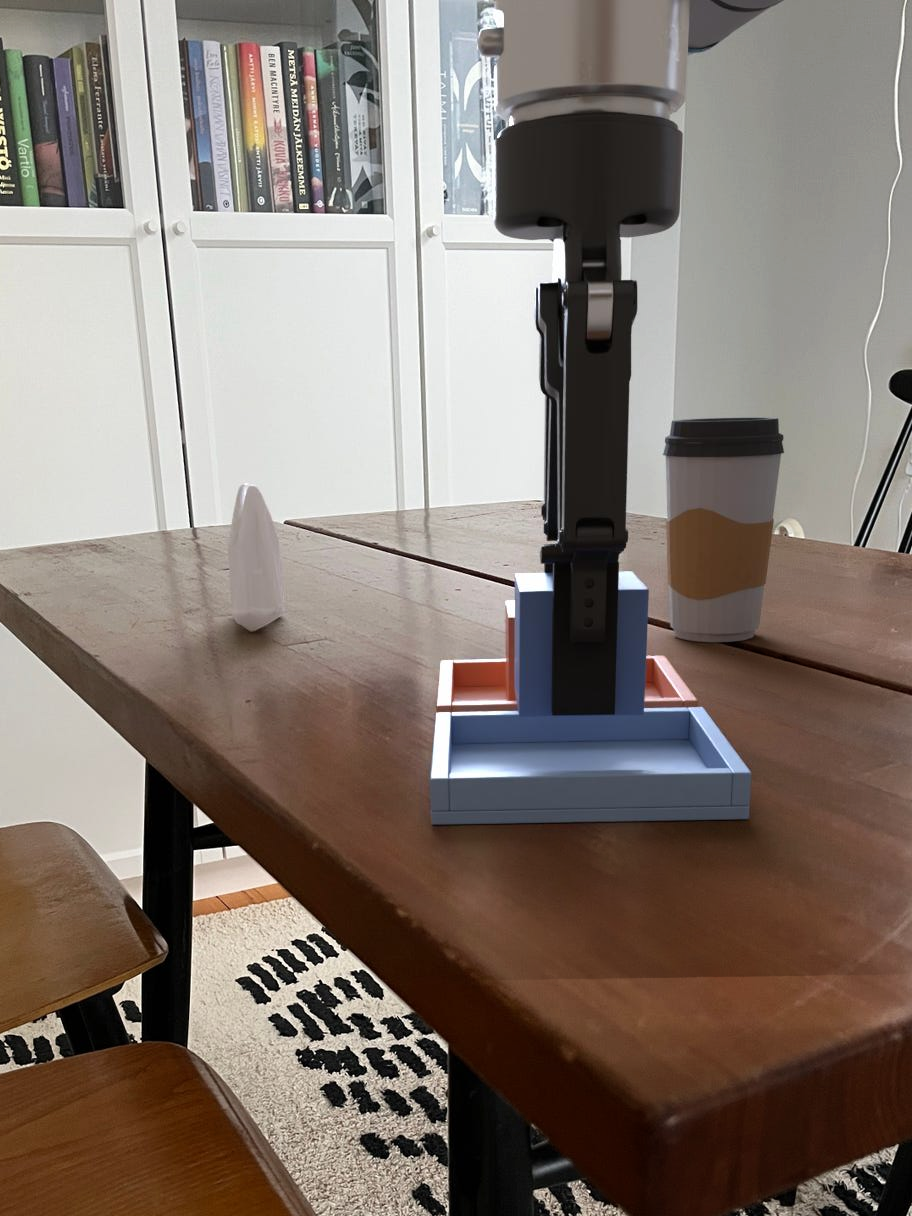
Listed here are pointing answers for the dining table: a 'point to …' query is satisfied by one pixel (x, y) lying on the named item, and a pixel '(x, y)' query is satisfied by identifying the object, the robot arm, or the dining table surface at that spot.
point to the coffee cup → (719, 523)
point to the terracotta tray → (486, 691)
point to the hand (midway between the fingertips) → (576, 695)
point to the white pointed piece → (254, 562)
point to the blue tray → (584, 768)
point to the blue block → (537, 644)
